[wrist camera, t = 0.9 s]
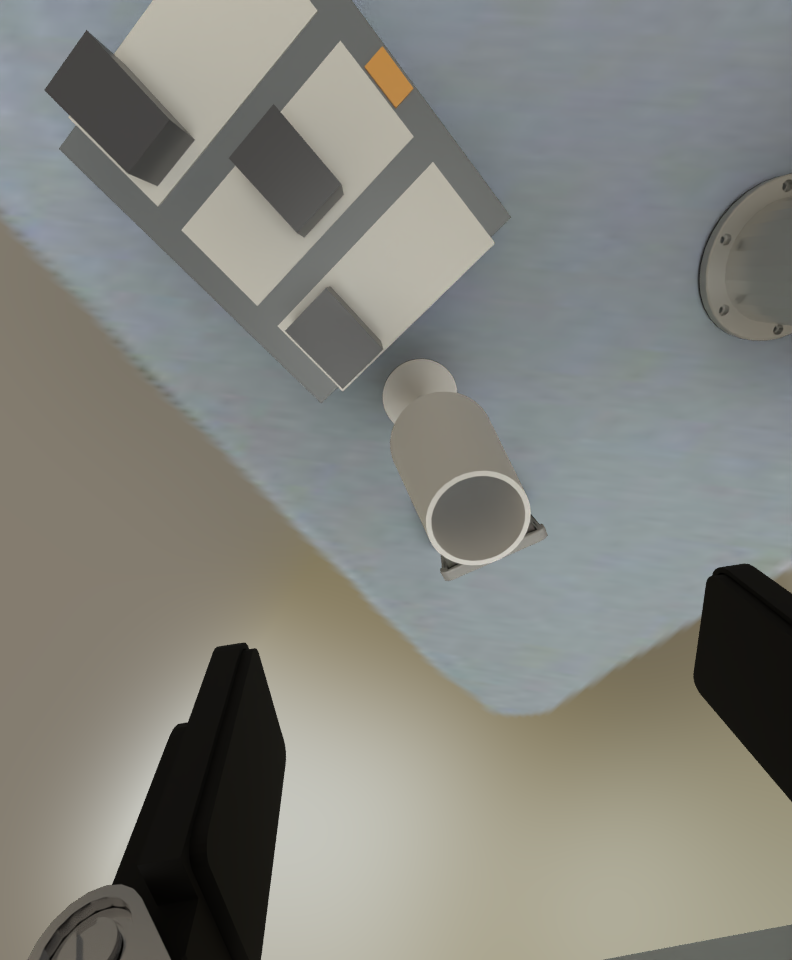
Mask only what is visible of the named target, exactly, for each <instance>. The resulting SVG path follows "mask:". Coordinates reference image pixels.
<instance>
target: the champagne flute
mask: <svg viewBox="0 0 792 960" xmlns="http://www.w3.org/2000/svg"><path fill="white" fill-rule="evenodd" d="M383 404H384V409H385V411H386V413H387V415H388V417H389V418H390V419H391V421H392V422H393V423H394V427H393V429H392V433H391V439H390V449H391V454H392V458H393V461H394V463H395V465H396V468H397V470H398V472H399V474H400V476H401V479H402V481H403V483H404V485H405V487H406V489H407V492H408V494H409V496H410V498H411V500H412V502H413V505H414V507H415V509H416V511H417V513H418V516H419V518H420V520H421V522H422V524H423V526H424V529H425V531H426V533H427V535H428V537H429V539H430V541H431V543H432V545H433V546H434V548H435V549H436V550H437V551H438V552H439V553H440V554H441V555H443V556H444V557H445V558H447V559H449V560H451V561H453V562H456V563H459V564H463V565H483V564H487V563H492V562H494V561H496V560H499V559H501V558H503V557H504V556H506V555H508V554H509V553H510V552H511V551H513V550H514V549H515V548H516V547H517V546H518V545H519V543H520V542H521V541H522V540H523V538H524V536H525V534H526V532H527V530H528V527H529V523H530V515H531V510H530V503H529V501H528V498H527V495H526V493H525V491H524V489H523V487H522V485H521V483H520V481H519V479H518V477H517V475H516V473H515V471H514V469H513V467H512V465H511V462H510V460H509V458H508V456H507V454H506V452H505V450H504V448H503V446H502V444H501V442H500V440H499V438H498V436H497V434H496V432H495V430H494V428H493V426H492V424H491V422H490V420H489V417H488V416H487V414H486V413H485V411H484V410H483V409H482V408H481V407H480V406H479V405H478V404H477V403H476V402H475V401H473V400H472V399H470V398H469V397H467V396H464V395H461V394H459V393H457V387H456V383H455V381H454V378H453V377H452V375H451V374H450V372H449V371H448V370H447V369H446V368H445V367H444V366H442V365H441V364H439V363H437V362H435V361H432V360H427V359H415V360H411V361H407V362H405V363H403V364H401V365H400V366H399V367H397V368H396V369H395V370H394V371H393V372H392V373H391V374H390V376H389V377H388V379H387V381H386V383H385V386H384V390H383Z"/></svg>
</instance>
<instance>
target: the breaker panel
mask: <svg viewBox="0 0 792 960" xmlns="http://www.w3.org/2000/svg"><path fill="white" fill-rule="evenodd" d="M45 91H46V92H47V93H48V94H49V95H50V96H51V97H52V98H53V99H54V100H55V101H56V102H57V103H58V104H59V105H60V106H61V107H62V108H63V109H64V110H65V111H66V112H67V113H68V114H69V118H70V119H71V120H72V121H73V122H74V123H75V124H76V126H75V128H74V129H73V130H72V132H71V133H70V134H69V136H68V137H67V138H66V140H65V141H64V143H63V144H62V145H61V147H60V148H59V149H60V150H61V151H62V152H63V153H64V154H65V155H66V156H67V157H68V158H69V159H70V160H71V161H72V162H73V163H74V164H75V165H76V166H77V167H78V168H79V169H80V170H81V171H82V172H83V173H84V174H85V175H86V176H87V177H88V178H89V179H90V180H91V181H93V182H94V183H95V184H96V185H97V186H98V187H99V188H100V189H101V190H102V191H103V192H104V193H105V194H106V195H107V196H108V197H109V198H110V199H111V200H112V201H113V202H114V203H115V204H116V205H117V206H118V207H119V208H120V209H121V210H122V211H123V212H124V213H125V214H127V215H128V216H129V217H130V218H131V219H132V220H133V221H134V222H135V223H136V224H137V225H138V226H139V227H140V228H141V229H142V230H143V231H144V232H145V233H146V234H147V235H148V236H149V237H150V238H151V239H152V240H153V241H154V242H155V243H156V244H157V245H158V246H159V247H161V248H162V249H163V250H164V251H165V252H166V253H167V254H168V255H169V256H170V257H171V258H172V259H173V260H174V261H175V262H176V263H177V264H178V265H179V266H180V267H181V268H182V269H183V270H184V271H185V272H186V273H187V274H188V275H189V276H190V277H191V278H192V279H194V280H195V281H196V282H197V283H198V284H199V285H200V286H201V287H202V288H203V289H204V290H205V291H206V292H207V293H208V294H209V295H210V296H211V297H212V298H213V299H214V300H215V301H216V302H217V303H218V304H219V305H220V306H221V307H222V308H223V309H224V310H225V311H226V312H228V313H229V314H230V315H231V316H232V317H233V318H234V319H235V320H236V321H237V322H238V323H239V324H240V325H241V326H242V327H243V328H244V329H245V330H246V331H247V332H248V333H249V334H250V335H251V336H252V337H253V338H254V339H255V340H256V341H257V342H258V343H259V344H261V345H262V346H263V347H264V348H265V349H266V350H267V351H268V352H269V353H270V354H271V355H272V356H273V357H274V358H275V359H276V360H277V361H278V362H279V363H280V364H281V365H282V366H283V367H284V368H285V369H286V370H287V371H288V372H289V373H290V374H291V375H292V376H293V377H295V378H296V379H297V380H298V381H299V382H300V383H301V384H302V385H303V386H304V387H305V388H306V389H307V390H308V391H309V392H310V393H311V394H312V395H313V396H314V397H315V398H316V399H317V400H318V401H319V402H320V403H322V402H323V401H324V400H325V399H326V398H327V397H328V396H329V395H330V394H331V393H332V392H333V391H334V390H335V389H336V388H338V387H339V388H340V389H341V390H342V391H344V390H345V389H346V388H347V387H348V386H349V385H350V384H351V383H352V382H353V381H354V380H355V379H356V378H357V377H358V376H359V375H360V374H361V373H362V372H363V371H364V370H365V369H366V368H367V367H368V366H369V365H371V364H372V363H373V362H374V361H375V360H376V359H377V358H378V357H379V356H380V355H381V354H382V353H383V352H384V351H385V350H386V349H387V348H388V347H389V346H390V345H391V344H392V343H393V342H394V341H395V340H396V339H397V338H398V337H399V336H400V335H401V334H402V333H403V332H404V331H405V330H406V329H407V328H409V327H410V326H411V325H412V324H413V323H414V322H415V321H416V320H417V319H418V318H419V317H420V316H421V315H422V314H423V313H424V312H425V311H426V310H427V309H428V308H429V307H430V306H431V305H432V304H433V303H434V302H435V301H436V300H437V299H438V298H439V297H440V296H441V295H442V294H443V293H444V292H445V291H447V290H448V289H449V288H450V287H451V286H452V285H453V284H454V283H455V282H456V281H457V280H458V279H459V278H460V277H461V276H462V275H463V274H464V273H465V272H466V271H467V270H468V269H469V268H470V267H471V266H472V265H473V264H474V263H475V262H476V261H477V260H478V259H479V258H480V257H481V256H482V255H483V254H484V253H486V252H487V251H488V250H489V249H490V248H491V247H492V246H493V245H494V244H495V242H494V241H493V240H492V238H491V237H492V236H493V235H494V234H495V233H496V232H497V231H498V230H499V229H500V228H501V227H502V226H503V225H504V224H505V223H506V222H507V221H508V220H509V219H510V218H511V216H510V215H509V213H508V212H507V211H506V209H505V208H504V207H503V205H502V204H501V203H500V201H499V200H498V198H497V197H496V196H495V194H494V193H493V192H492V190H491V189H490V188H489V186H488V185H487V183H486V182H485V181H484V179H483V178H482V177H481V175H480V174H479V173H478V171H477V170H476V169H475V167H474V166H473V164H472V163H471V162H470V160H469V159H468V158H467V156H466V155H465V154H464V152H463V151H462V150H461V148H460V147H459V145H458V144H457V143H456V141H455V140H454V139H453V137H452V136H451V135H450V133H449V132H448V131H447V129H446V128H445V126H444V125H443V124H442V122H441V121H440V120H439V118H438V117H437V116H436V114H435V113H434V112H433V110H432V109H431V107H430V106H429V105H428V103H427V102H426V101H425V99H424V98H423V97H422V95H421V94H420V92H419V91H418V90H417V88H416V87H415V86H414V84H413V83H412V82H411V80H410V79H409V78H408V76H407V75H406V73H405V72H404V71H403V69H402V68H401V67H400V65H399V64H398V63H397V61H396V60H395V59H394V57H393V56H392V54H391V53H390V52H389V50H388V49H387V48H386V46H385V45H384V44H383V42H382V41H381V40H380V38H379V37H378V35H377V34H376V33H375V31H374V30H373V29H372V27H371V26H370V25H369V23H368V22H367V20H366V19H365V18H364V16H363V15H362V14H361V12H360V11H359V10H358V8H357V7H356V6H355V4H354V3H353V1H352V0H153V1H152V2H151V4H150V5H149V7H148V8H147V9H146V11H145V12H144V13H143V15H142V16H141V18H140V19H139V20H138V22H137V23H136V24H135V26H134V27H133V29H132V30H131V31H130V33H129V34H128V35H127V37H126V38H125V40H124V41H123V42H122V44H121V45H120V46H119V48H118V49H117V51H116V52H115V53H114V54H113V53H112V52H111V51H110V50H108V49H107V48H106V47H105V46H104V45H103V44H102V43H100V42H99V41H98V40H97V39H96V38H95V37H94V36H93V35H91V34H90V33H89V32H88V31H87V30H86V32H85V33H84V35H83V36H82V37H81V39H80V40H79V42H78V43H77V45H76V46H75V47H74V49H73V50H72V52H71V53H70V54H69V56H68V57H67V59H66V60H65V62H64V63H63V64H62V66H61V67H60V69H59V70H58V71H57V73H56V74H55V76H54V77H53V79H52V80H51V81H50V83H49V84H48V86H47V87H46V89H45ZM273 104H274V105H275V106H276V107H277V108H278V110H279V111H280V112H281V113H282V114H283V115H284V117H285V118H286V119H287V120H288V121H289V123H290V124H291V125H292V126H293V127H294V129H295V130H296V131H297V132H298V133H299V134H300V136H301V137H302V138H303V139H304V140H305V142H306V143H307V144H308V145H309V146H310V147H311V149H312V150H313V151H314V152H315V153H316V155H317V156H318V157H319V158H320V159H321V160H322V162H323V163H324V164H325V165H326V166H327V168H328V169H329V170H330V171H331V172H332V173H333V175H334V176H335V177H336V178H337V179H338V181H339V182H340V183H341V184H342V189H343V193H344V195H343V196H342V197H341V198H340V199H339V200H338V201H337V203H336V204H335V205H334V206H333V207H332V208H331V209H330V210H329V211H328V212H327V213H326V215H325V216H324V217H323V218H322V219H321V220H320V221H319V222H318V223H317V224H316V226H315V227H314V228H313V229H312V230H311V231H310V232H309V233H308V234H307V235H306V236H305V238H304V237H302V236H301V235H299V234H298V233H296V232H295V230H294V229H293V228H292V227H291V226H290V225H289V224H288V223H287V222H286V221H285V219H284V218H283V217H282V216H281V215H280V214H279V213H278V212H277V211H276V210H275V208H274V207H273V206H272V205H271V204H270V203H269V202H268V201H267V200H266V199H265V198H264V196H263V195H262V194H261V193H260V192H259V191H258V190H257V189H256V188H255V187H254V185H253V184H252V183H251V182H250V181H249V180H248V179H247V178H246V177H245V176H244V175H243V173H242V172H241V171H240V170H239V169H238V168H237V167H236V166H235V165H234V164H233V162H232V161H231V160H230V159H229V157H230V156H231V155H232V153H233V152H234V151H235V150H236V149H237V147H238V146H239V145H240V144H241V143H242V141H243V140H244V139H245V138H246V136H247V135H248V134H249V133H250V132H251V130H252V129H253V128H254V127H255V126H256V124H257V123H258V122H259V121H260V120H261V118H262V117H263V116H264V115H265V114H266V112H267V111H268V110H269V109H270V108H271V106H272V105H273Z"/></svg>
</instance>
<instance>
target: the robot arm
mask: <svg viewBox="0 0 792 960" xmlns="http://www.w3.org/2000/svg"><path fill="white" fill-rule="evenodd" d="M720 240H721V241H720ZM699 281H700V292H701V297H702V301H703V304H704V308H705V309H706V311H707V313H708V315H709V317H710V319H711V320H712V321H713V322H714V323H715V324H716V325H717V326H718V327H719V328H720V329H722V330H723V331H725V332H726V333H728V334H729V335H732V336H735V337H738V338H741V339H748V340H753V341H767V340H773V339H778V338H781V337H784V336H786V335H789V334H792V174H787V175H783V176H779V177H775V178H773V179H770V180H768V181H766V182H763V183H761V184H759V185H758V186H756V187H754V188H753V189H751V190H750V191H748V192H746V193H745V194H744V195H743V196H742V197H741V198H740V199H738V200H737V201H736V202H735V203H734V204H733V205H732V206H731V207H730V208H729V210H728V211H727V212H726V213H725V214H724V215H723V217H722V218H721V219H720V221H719V223H718V224H717V226H716V227H715V229H714V231H713V232H712V234H711V237H710V239H709V241H708V243H707V246H706V248H705V251H704V255H703V259H702V263H701V269H700V280H699ZM694 682H695V685H696V687H697V689H698V691H699V693H700V694H701V695H702V697H703V698H704V699H705V700H706V701H707V702H708V704H709V705H710V706H711V707H712V708H713V709H714V711H715V712H716V713H717V714H718V715H719V716H720V718H721V719H722V720H723V721H724V722H725V724H726V725H727V726H728V727H729V728H730V730H731V731H732V732H733V733H734V734H735V735H736V737H737V738H738V739H739V740H740V741H741V742H742V744H743V745H744V746H745V747H746V748H747V749H748V751H749V752H750V753H751V754H752V755H753V756H754V758H755V759H756V760H757V761H758V763H759V764H760V765H761V766H762V767H763V768H764V770H765V771H766V772H767V773H768V774H769V775H770V777H771V778H772V779H773V780H774V781H775V782H776V784H777V785H778V786H779V787H780V788H781V789H782V791H783V792H784V793H785V794H786V795H787V797H788V798H789V799H790V800H791V801H792V594H791V593H790V592H789V591H787V590H786V589H784V588H783V587H781V586H780V585H779V584H777V583H776V582H775V581H773V580H772V579H770V578H769V577H768V576H766V575H765V574H763V573H762V572H761V571H759V570H758V569H756V568H755V567H753V566H751V565H750V564H739V565H732V566H726V567H720V568H717V569H715V571H714V572H713V575H712V576H711V577H709V578H708V579H707V582H706V588H705V595H704V603H703V610H702V617H701V625H700V631H699V638H698V646H697V653H696V660H695V667H694ZM285 762H286V750H285V743H284V739H283V736H282V733H281V729H280V726H279V722H278V719H277V715H276V712H275V708H274V705H273V701H272V698H271V694H270V691H269V688H268V684H267V680H266V677H265V674H264V670H263V666H262V663H261V660H260V656H259V653H258V651H257V649H255V648H254V649H249V648H248V645H247V644H246V643H238V644H232V645H226V646H219V647H216V648H215V650H214V651H213V654H212V657H211V660H210V662H209V665H208V668H207V671H206V674H205V676H204V679H203V682H202V685H201V688H200V690H199V693H198V696H197V699H196V702H195V704H194V708H193V710H192V713H191V716H190V718H189V721H188V723H182V724H178V725H177V726H176V727H175V728H174V729H173V731H172V733H171V734H170V737H169V739H168V742H167V744H166V747H165V749H164V752H163V755H162V757H161V760H160V762H159V765H158V768H157V770H156V773H155V775H154V778H153V780H152V783H151V786H150V788H149V791H148V793H147V796H146V799H145V801H144V804H143V806H142V809H141V812H140V814H139V817H138V819H137V823H136V824H135V827H134V830H133V832H132V835H131V837H130V840H129V843H128V845H127V848H126V850H125V853H124V856H123V858H122V861H121V863H120V866H119V868H118V871H117V874H116V876H115V879H114V881H113V884H112V885H107V886H103V887H101V888H98V889H96V890H94V891H91V892H88V893H87V894H85V895H84V896H82V897H81V898H79V899H78V900H76V901H75V902H73V903H72V904H70V905H69V906H68V907H67V908H66V909H65V910H64V911H63V912H62V913H61V914H60V915H59V916H57V918H56V919H54V920H53V922H52V923H51V924H50V925H49V927H48V928H47V929H46V930H45V932H44V933H43V934H42V936H41V937H40V938H39V940H38V941H37V943H36V945H35V946H34V948H33V950H32V952H31V954H30V956H29V958H28V960H261V955H262V946H263V938H264V930H265V923H266V915H267V907H268V899H269V891H270V883H271V875H272V867H273V859H274V850H275V843H276V835H277V828H278V819H279V811H280V804H281V796H282V788H283V779H284V772H285ZM605 960H792V925H787V926H782V927H777V928H771V929H765V930H760V931H754V932H749V933H744V934H738V935H733V936H728V937H722V938H717V939H712V940H706V941H701V942H695V943H691V944H685V945H679V946H674V947H669V948H664V949H658V950H653V951H647V952H642V953H637V954H631V955H626V956H621V957H616V958H610V959H605Z"/></svg>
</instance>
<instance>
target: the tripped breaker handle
mask: <svg viewBox="0 0 792 960" xmlns="http://www.w3.org/2000/svg"><path fill="white" fill-rule="evenodd" d="M229 159H230V160H231V161H232V162H233V164H234V165H235V166H236V167H237V168H238V169H239V170H240V171H241V172H242V173H243V175H244V176H245V177H246V178H247V179H248V180H249V181H250V182H251V183H252V184H253V185H254V187H255V188H256V189H257V190H258V191H259V192H260V193H261V194H262V195H263V196H264V198H265V199H266V200H267V201H268V202H269V203H270V204H271V205H272V206H273V207H274V208H275V210H276V211H277V212H278V213H279V214H280V215H281V216H282V217H283V218H284V219H285V221H286V222H287V223H288V224H289V225H290V226H291V227H292V228H293V229H294V230H295V232H296V233H298V234H299V235H301V236H302V237H304V238H305V236H306V235H307V234H308V233H309V232H310V231H311V230H312V229H313V228H314V227H315V226H316V224H317V223H318V222H319V221H320V220H321V219H322V218H323V217H324V216H325V215H326V213H327V212H328V211H329V210H330V209H331V208H332V207H333V206H334V205H335V204H336V203H337V201H338V200H339V199H340V198H341V197H342V196H343V195H344V193H343V189H342V184H341V183H340V182H339V181H338V179H337V178H336V177H335V176H334V175H333V173H332V172H331V171H330V170H329V169H328V168H327V166H326V165H325V164H324V163H323V162H322V160H321V159H320V158H319V157H318V156H317V155H316V153H315V152H314V151H313V150H312V149H311V147H310V146H309V145H308V144H307V143H306V142H305V140H304V139H303V138H302V137H301V136H300V134H299V133H298V132H297V131H296V130H295V129H294V127H293V126H292V125H291V124H290V123H289V121H288V120H287V119H286V118H285V117H284V115H283V114H282V113H281V112H280V111H279V110H278V108H277V107H276V106H275V105H274V104H273V105H272V106H271V108H270V109H269V110H268V111H267V112H266V114H265V115H264V116H263V117H262V118H261V120H260V121H259V122H258V123H257V124H256V126H255V127H254V128H253V129H252V130H251V132H250V133H249V134H248V135H247V136H246V138H245V139H244V140H243V141H242V143H241V144H240V145H239V146H238V147H237V149H236V150H235V151H234V152H233V153H232V155H231V156H230V157H229Z"/></svg>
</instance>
